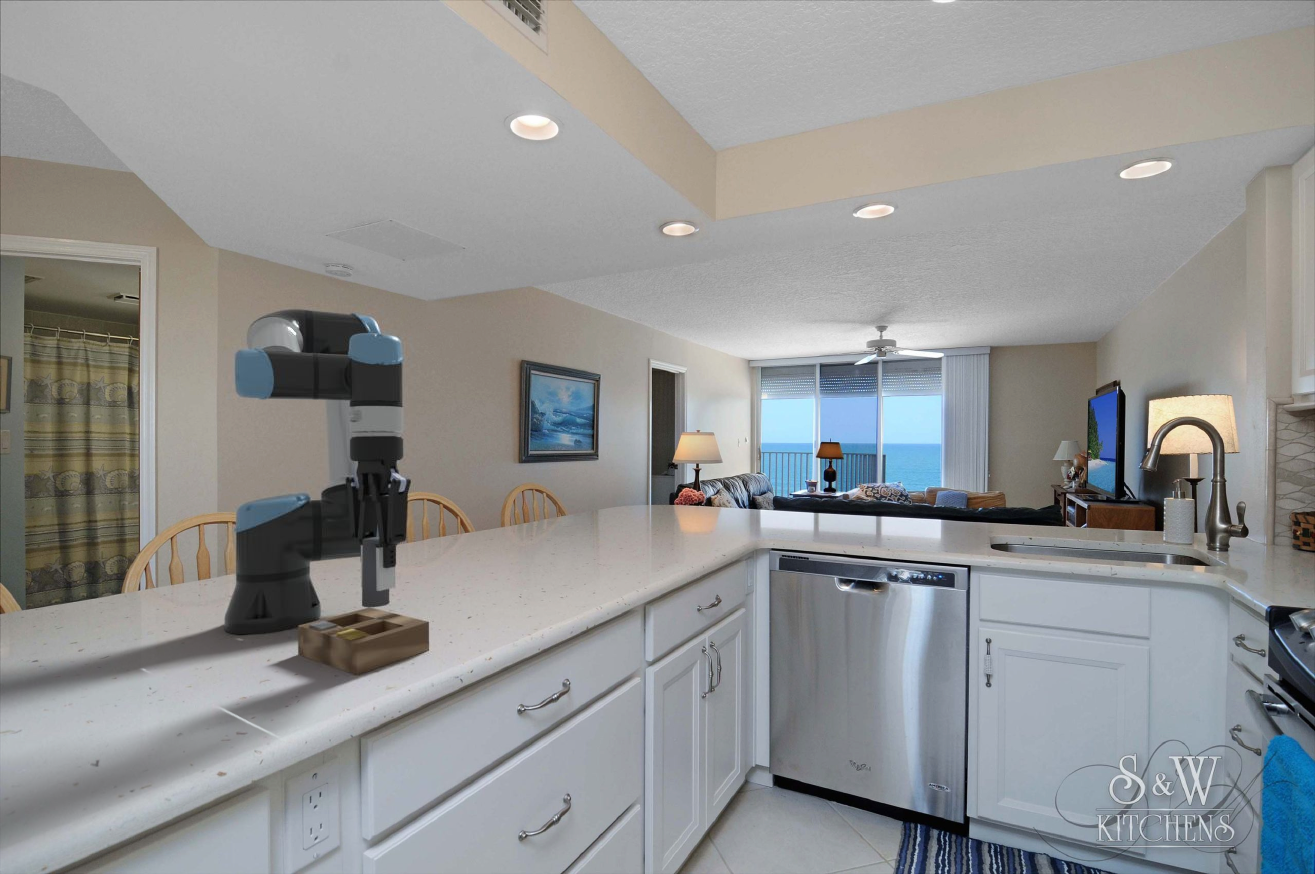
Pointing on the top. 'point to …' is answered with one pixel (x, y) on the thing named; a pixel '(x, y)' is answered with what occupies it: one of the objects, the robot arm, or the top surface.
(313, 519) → the robot arm
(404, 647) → the socket board
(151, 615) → the top surface
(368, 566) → the plug
